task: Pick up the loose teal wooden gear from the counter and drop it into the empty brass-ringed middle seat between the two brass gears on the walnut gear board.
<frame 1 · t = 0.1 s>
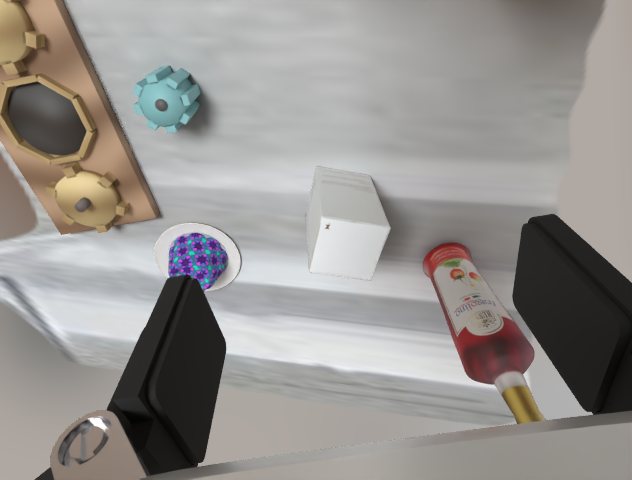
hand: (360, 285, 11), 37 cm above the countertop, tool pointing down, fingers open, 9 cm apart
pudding: (199, 255, 56), on the countertop
loose gear: (174, 93, 43), on the countertop
gear board: (56, 116, 44), on the countertop
liquor: (443, 256, 57), on the countertop
supplement box: (337, 194, 51), on the countertop
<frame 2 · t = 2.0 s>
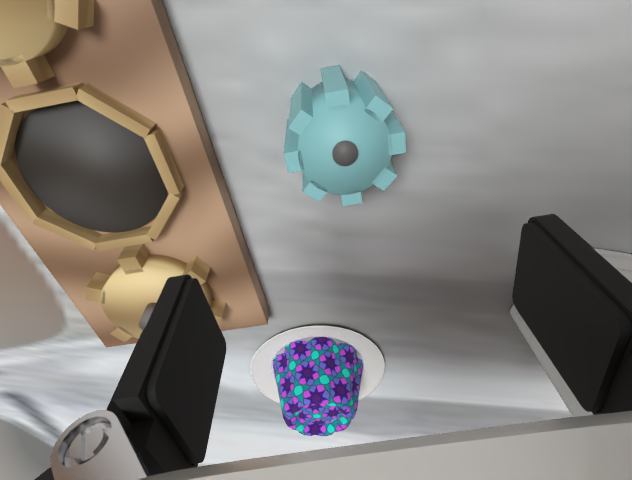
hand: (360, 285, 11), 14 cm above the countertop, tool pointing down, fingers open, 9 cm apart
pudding: (317, 363, 35), on the countertop
loose gear: (337, 118, 22), on the countertop
gear board: (106, 161, 23), on the countertop
supplement box: (570, 283, 30), on the countertop
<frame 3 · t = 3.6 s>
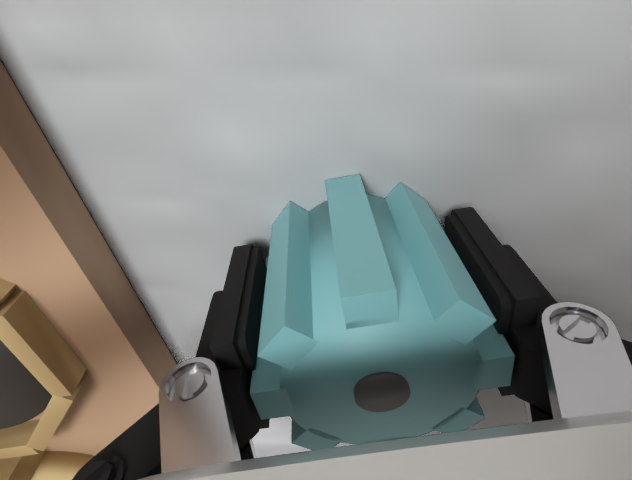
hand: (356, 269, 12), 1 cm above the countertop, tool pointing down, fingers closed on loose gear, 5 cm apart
loose gear: (354, 255, 13), on the countertop, touching gripper
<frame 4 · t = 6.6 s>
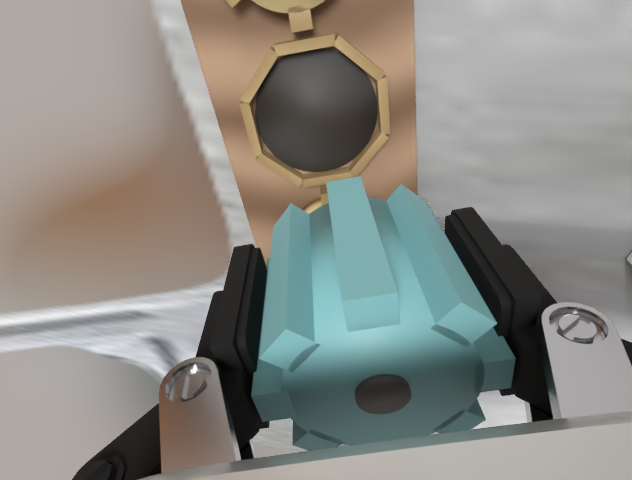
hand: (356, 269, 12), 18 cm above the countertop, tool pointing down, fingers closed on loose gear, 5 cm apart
loose gear: (354, 256, 13), point 17 cm above the countertop, touching gripper
gear board: (315, 108, 27), on the countertop
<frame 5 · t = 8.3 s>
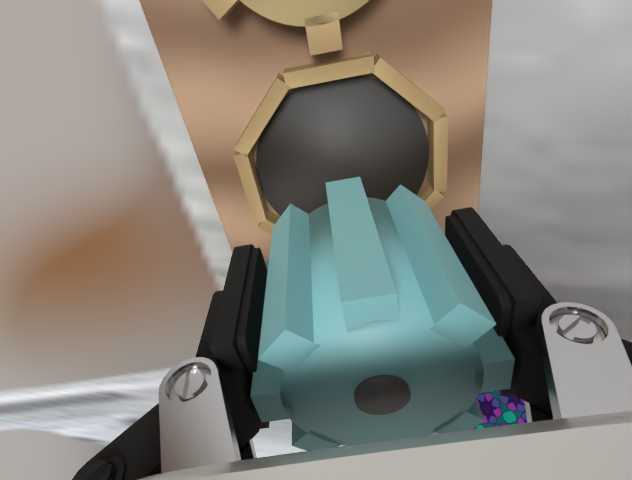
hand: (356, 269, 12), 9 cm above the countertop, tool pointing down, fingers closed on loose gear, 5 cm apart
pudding: (490, 384, 31), on the countertop
loose gear: (354, 257, 13), point 8 cm above the countertop, touching gripper
gear board: (339, 153, 19), on the countertop
when the fingers open (4 cm above the countertop, at t = 9.7 s): loose gear drops 2 cm, resting on gear board.
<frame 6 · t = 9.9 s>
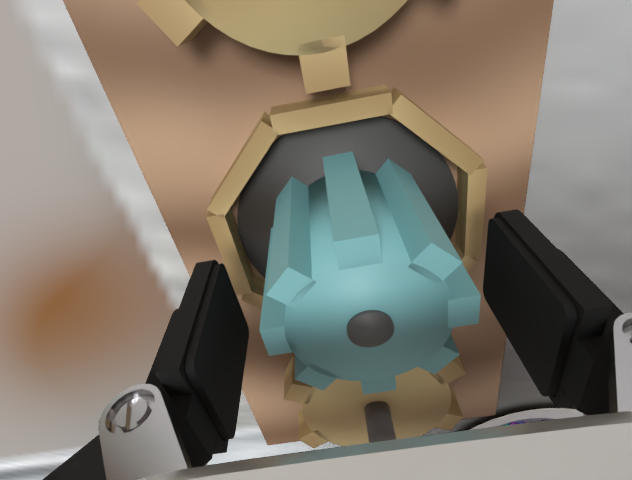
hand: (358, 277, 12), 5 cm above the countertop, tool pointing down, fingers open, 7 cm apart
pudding: (515, 446, 27), on the countertop
loose gear: (349, 226, 14), point 2 cm above the countertop, touching gear board
gear board: (343, 203, 16), on the countertop
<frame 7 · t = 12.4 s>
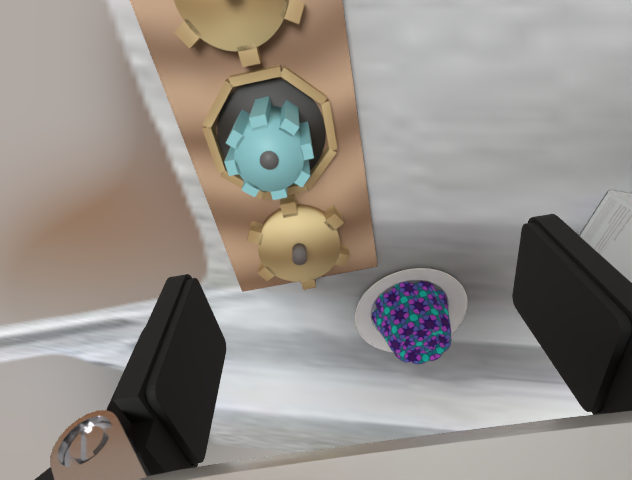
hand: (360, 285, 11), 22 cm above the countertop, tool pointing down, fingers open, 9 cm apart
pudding: (408, 307, 42), on the countertop
loose gear: (272, 136, 29), point 2 cm above the countertop, touching gear board
gear board: (272, 129, 30), on the countertop
supplement box: (617, 227, 37), on the countertop
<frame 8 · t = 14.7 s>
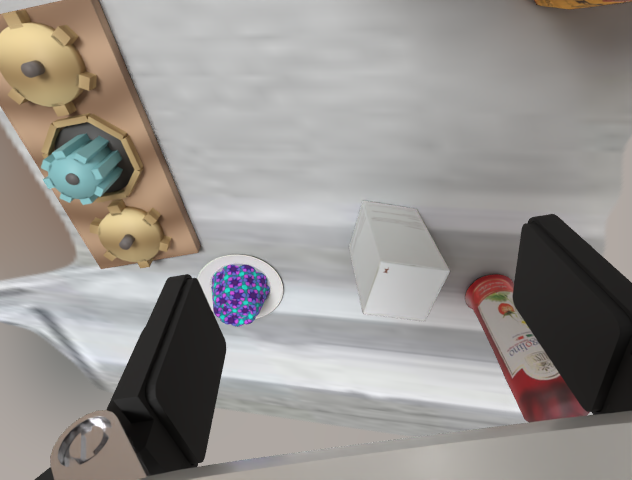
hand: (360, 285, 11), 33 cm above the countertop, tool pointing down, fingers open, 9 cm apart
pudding: (241, 285, 55), on the countertop
loose gear: (95, 159, 42), point 2 cm above the countertop, touching gear board
gear board: (101, 153, 43), on the countertop
liquor: (485, 286, 56), on the countertop
supplement box: (381, 227, 50), on the countertop
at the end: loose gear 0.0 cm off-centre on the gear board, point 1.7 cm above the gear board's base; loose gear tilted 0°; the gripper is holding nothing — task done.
